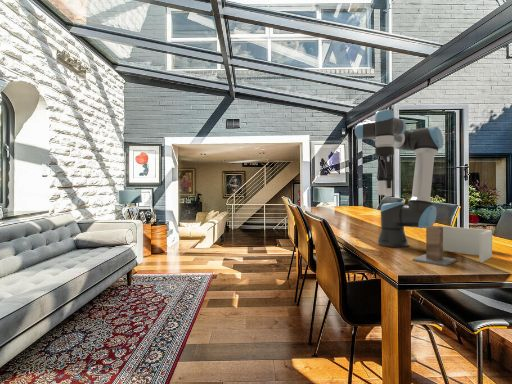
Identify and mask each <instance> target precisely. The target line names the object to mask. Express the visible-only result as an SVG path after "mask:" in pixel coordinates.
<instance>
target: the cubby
mask: <svg viewBox="0 0 512 384" xmlns="http://www.w3.org/2000/svg"><path fill="white" fill-rule="evenodd" d="M440 226H441V227H443V252H451V253H457V254H466V255H472V256H478V262H479V263H484V262H485V261H487V260H489V259H491V258H492V257H493V234H492V231H493V229H487V230H482V229H483V228H470V227H459V226H458V227H457V226H445V225H440Z"/></svg>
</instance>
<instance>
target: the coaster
mask: <svg viewBox="0 0 512 384" xmlns="http://www.w3.org/2000/svg"><path fill="white" fill-rule="evenodd" d="M411 260H412V261H414V262H419V263H424V264H431V265H437V266H442V267H446V266H448V265H450V264H453V263H454V262H456V261H457V258H453V257H447V256H443V259H441V260H439V261H438V260H432V259H426V253H424V254H421V255H419V256H416V257H414V258H412V259H411Z"/></svg>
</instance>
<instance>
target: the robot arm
mask: <svg viewBox="0 0 512 384" xmlns="http://www.w3.org/2000/svg"><path fill="white" fill-rule="evenodd" d="M354 135H355V137H356V138H357V139H358V140H365V139H369V140H371V141H374V143H375V148H374V152H375V153H374V156H375V157H380V158H378V161H377V174H376V180H377V195H378V196H384V197H393V180H394V171H393V163H392V156H394V155H395V149H397V150H401V151H407V152H408V151H410V152H413V153H414V155H415V164H414V174H413V182H412V193H411V198H409V199H408V201H407V204H405V202H404V201H399V202H397V201H395V202H388V203H386V202H385V203H383V204H382V205H381V206H380V231H379V236H378V238H377V245H379V246H381V247H382V246H383V247H388V248H404V247H408V246H409V244H408V243H409V241H408V239H407V236H406V233H405V228H417V229H426V227H427V226H434V224H435V222H436V220H437V207H436V206H435V205H434V202H433V201H432V200H431V194H432V193H431V192H432V185H433V184H432V183H433V174H434V173H433V171H434V161H435V156H436V155H438V153H439V150H440V149H443V147H444V137H443V133H442V131H441V129H440V127H438V126H428V127H421V128H414V129H407V124H406V122H405V121H404V120H403V119H401V118H396V117H395V115H394V110H392V109H382V110H378V111H376V112H375V115H374V121H367V122H361V123H358V124H357V125H356V126H355V128H354Z"/></svg>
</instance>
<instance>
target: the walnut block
mask: <svg viewBox="0 0 512 384" xmlns="http://www.w3.org/2000/svg"><path fill="white" fill-rule="evenodd" d="M441 226H442V225H433V226H427V227H426V228H425V229H426V230H425V244H426V245H425V248H426V249H425V252H426V253H425V254H426V259H432V260H438V261H439V260H441V259H443V257H444V251H443V227H441Z"/></svg>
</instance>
